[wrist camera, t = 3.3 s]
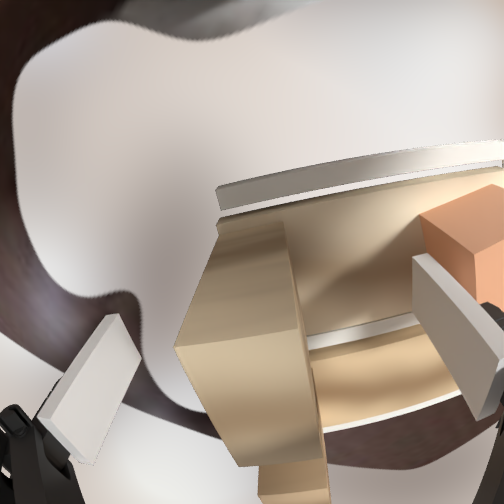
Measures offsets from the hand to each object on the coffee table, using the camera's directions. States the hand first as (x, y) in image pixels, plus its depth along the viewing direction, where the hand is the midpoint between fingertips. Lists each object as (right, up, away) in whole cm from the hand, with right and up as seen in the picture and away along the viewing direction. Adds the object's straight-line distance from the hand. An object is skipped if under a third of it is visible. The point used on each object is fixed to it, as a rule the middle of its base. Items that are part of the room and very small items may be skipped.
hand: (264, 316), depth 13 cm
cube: (+11, +3, +1) cm, 11 cm away
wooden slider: (+7, +3, +3) cm, 8 cm away
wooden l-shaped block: (+9, -5, +6) cm, 12 cm away
